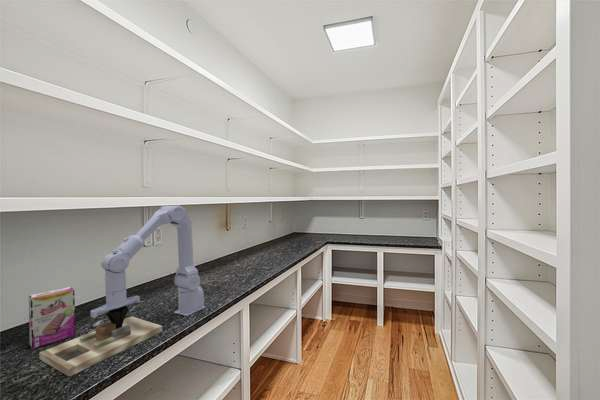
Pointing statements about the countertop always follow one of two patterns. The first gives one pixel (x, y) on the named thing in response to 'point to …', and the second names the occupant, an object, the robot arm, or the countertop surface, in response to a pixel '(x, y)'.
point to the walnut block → (104, 331)
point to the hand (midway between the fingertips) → (117, 330)
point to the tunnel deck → (97, 346)
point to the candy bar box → (51, 316)
